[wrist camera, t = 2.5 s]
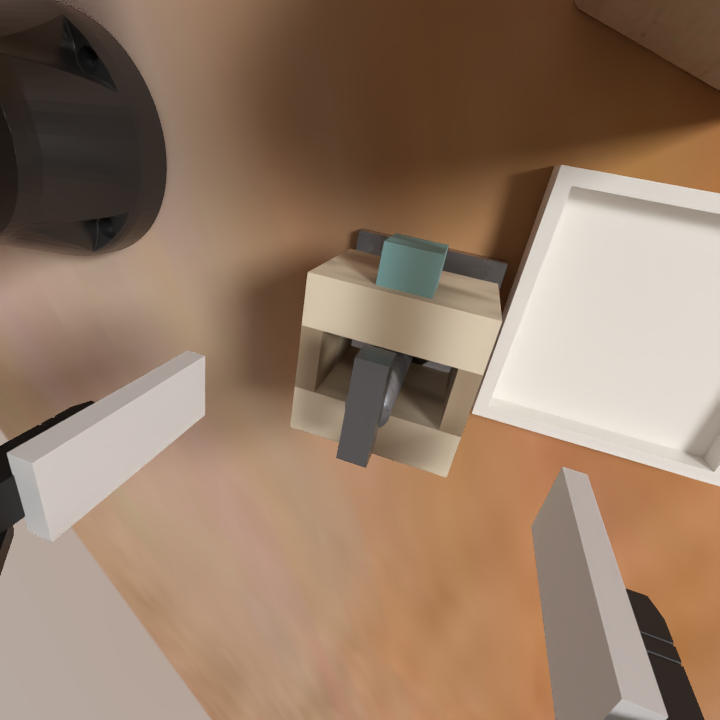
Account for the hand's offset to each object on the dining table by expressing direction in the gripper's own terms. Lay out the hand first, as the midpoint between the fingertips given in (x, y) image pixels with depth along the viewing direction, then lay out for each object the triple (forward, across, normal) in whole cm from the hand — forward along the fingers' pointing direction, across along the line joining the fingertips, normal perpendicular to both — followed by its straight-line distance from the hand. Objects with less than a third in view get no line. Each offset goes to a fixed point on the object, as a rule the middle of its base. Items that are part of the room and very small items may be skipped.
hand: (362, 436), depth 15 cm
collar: (+10, 0, 0) cm, 10 cm away
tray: (+14, +12, +3) cm, 19 cm away
